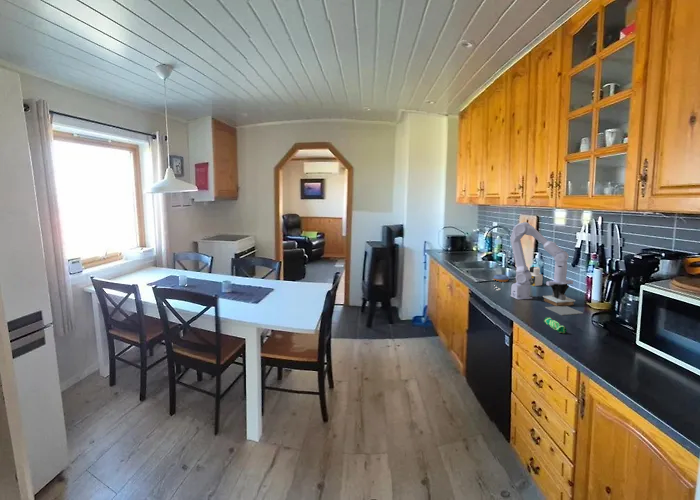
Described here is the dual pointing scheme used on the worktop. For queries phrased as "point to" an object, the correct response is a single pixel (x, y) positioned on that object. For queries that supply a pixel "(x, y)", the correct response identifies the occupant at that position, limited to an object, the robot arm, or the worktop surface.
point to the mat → (564, 310)
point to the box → (559, 303)
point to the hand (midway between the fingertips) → (558, 297)
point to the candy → (555, 325)
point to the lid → (559, 298)
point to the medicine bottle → (535, 276)
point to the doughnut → (501, 278)
